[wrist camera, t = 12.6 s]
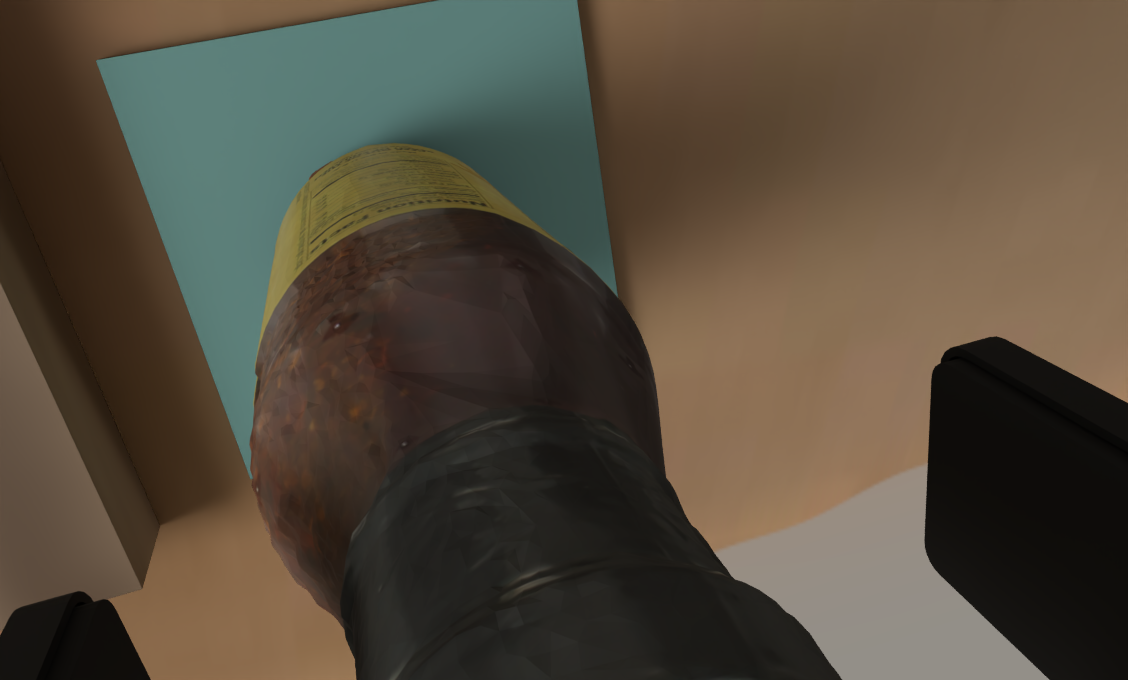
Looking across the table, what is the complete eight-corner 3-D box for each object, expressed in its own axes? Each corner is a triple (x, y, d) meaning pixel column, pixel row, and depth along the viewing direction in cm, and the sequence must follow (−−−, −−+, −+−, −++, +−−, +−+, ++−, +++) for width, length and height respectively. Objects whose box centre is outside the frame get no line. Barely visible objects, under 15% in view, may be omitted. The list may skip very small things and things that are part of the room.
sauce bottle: (484, 356, 25) (883, 1176, 8) (267, 339, 23) (135, 1394, 6) (521, 139, 23) (1187, 586, 6) (286, 101, 21) (170, 607, 4)
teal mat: (568, -23, 23) (573, -23, 22) (623, 369, 28) (628, 375, 27) (101, 59, 20) (96, 60, 20) (251, 471, 25) (250, 479, 25)
